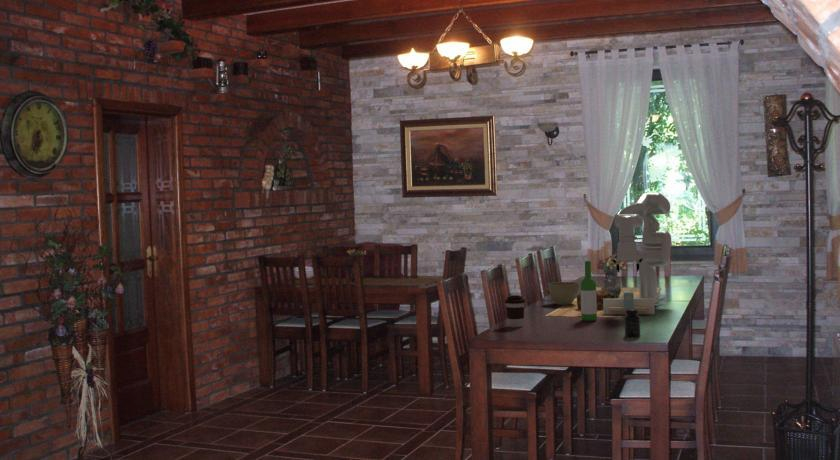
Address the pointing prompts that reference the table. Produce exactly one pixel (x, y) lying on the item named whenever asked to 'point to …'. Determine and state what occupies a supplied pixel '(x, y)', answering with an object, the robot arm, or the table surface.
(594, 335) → the table surface
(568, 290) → the flower pot
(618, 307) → the wall shelf
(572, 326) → the table surface
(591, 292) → the wine bottle
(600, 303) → the bread
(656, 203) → the robot arm
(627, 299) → the cabinet block
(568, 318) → the table surface
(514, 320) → the coffee cup
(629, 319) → the supplement bottle
